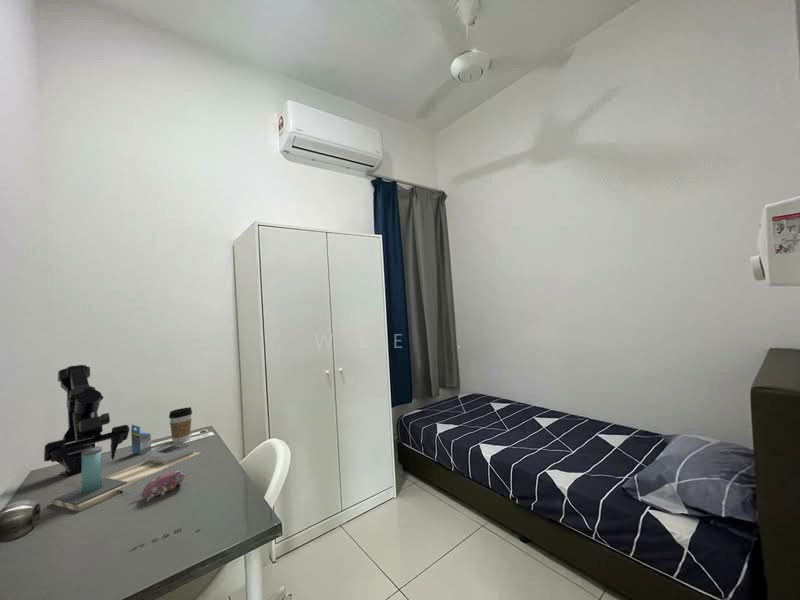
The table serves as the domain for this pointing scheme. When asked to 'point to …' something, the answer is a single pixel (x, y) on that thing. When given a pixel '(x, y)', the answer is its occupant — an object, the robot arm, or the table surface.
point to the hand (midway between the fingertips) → (92, 464)
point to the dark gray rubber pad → (78, 497)
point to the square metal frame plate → (168, 454)
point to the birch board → (124, 475)
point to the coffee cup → (180, 424)
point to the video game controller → (163, 483)
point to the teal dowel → (91, 469)
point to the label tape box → (140, 440)
